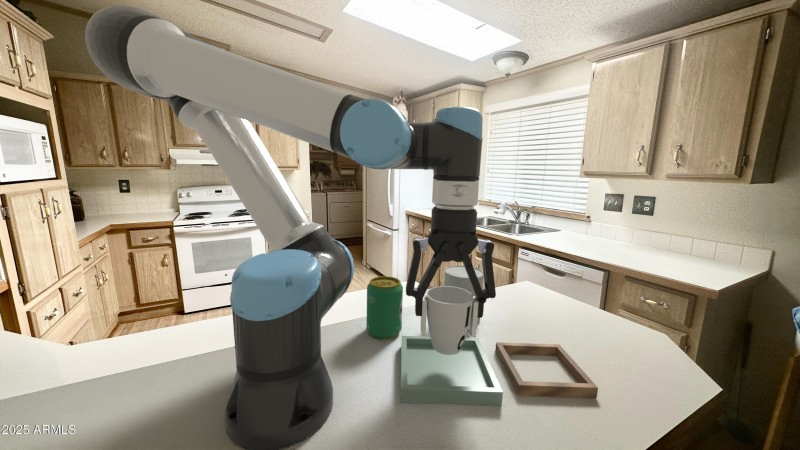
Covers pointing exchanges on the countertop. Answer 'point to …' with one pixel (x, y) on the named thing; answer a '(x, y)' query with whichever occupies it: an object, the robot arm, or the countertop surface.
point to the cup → (448, 317)
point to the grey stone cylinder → (462, 279)
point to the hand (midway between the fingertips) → (447, 332)
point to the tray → (447, 374)
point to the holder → (545, 389)
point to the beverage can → (384, 307)
